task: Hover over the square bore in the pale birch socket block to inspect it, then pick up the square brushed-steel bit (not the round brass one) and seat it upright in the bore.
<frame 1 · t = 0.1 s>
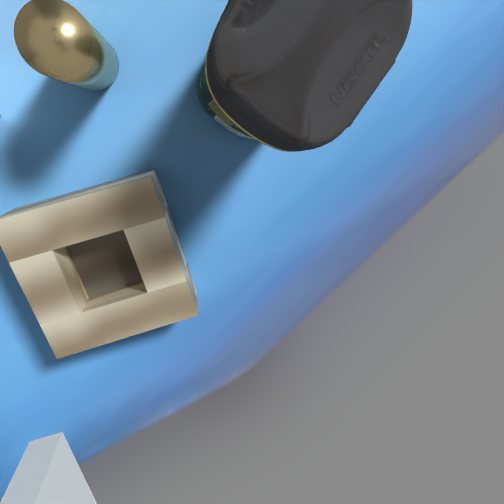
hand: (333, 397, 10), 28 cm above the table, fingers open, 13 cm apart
socket block: (112, 252, 36), on the table
coffee jar: (251, 77, 34), on the table
round bit: (92, 62, 32), on the table
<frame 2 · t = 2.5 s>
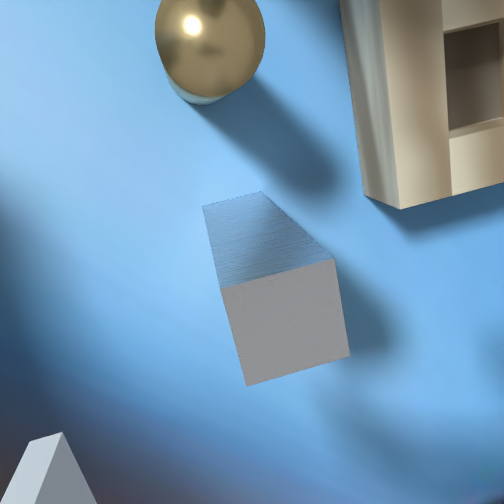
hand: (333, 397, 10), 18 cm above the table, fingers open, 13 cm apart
socket block: (438, 84, 27), on the table
square bit: (238, 227, 28), on the table
round bit: (200, 69, 24), on the table
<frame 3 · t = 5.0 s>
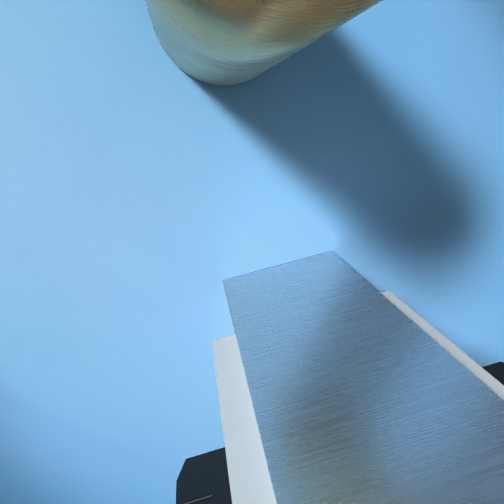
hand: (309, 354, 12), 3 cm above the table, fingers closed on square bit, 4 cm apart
square bit: (288, 315, 15), on the table, touching gripper
round bit: (222, 10, 12), on the table
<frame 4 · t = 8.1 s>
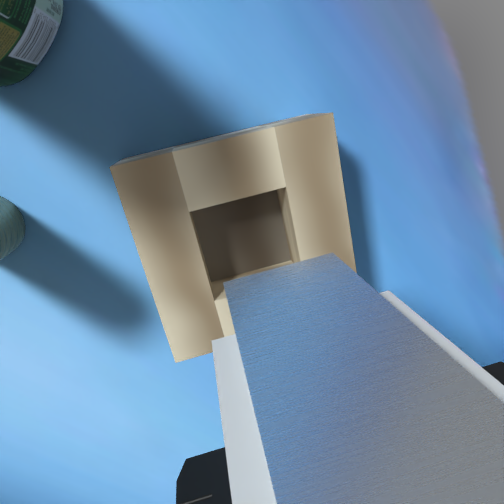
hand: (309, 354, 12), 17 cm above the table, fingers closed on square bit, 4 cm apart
socket block: (237, 224, 28), on the table
square bit: (289, 316, 15), point 14 cm above the table, touching gripper
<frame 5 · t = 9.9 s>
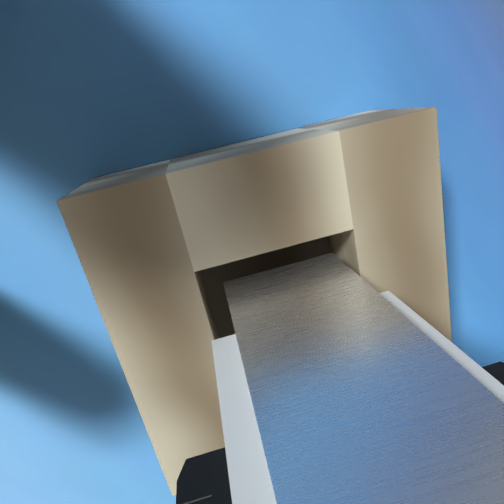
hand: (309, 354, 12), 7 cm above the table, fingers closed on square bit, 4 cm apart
socket block: (264, 272, 19), on the table
square bit: (289, 316, 15), point 5 cm above the table, touching gripper
when the fingers open (6 cm above the table, at t = 11.1 s): square bit drops 2 cm, resting on socket block.
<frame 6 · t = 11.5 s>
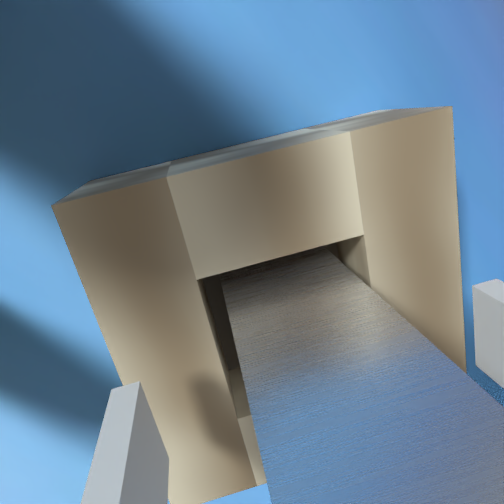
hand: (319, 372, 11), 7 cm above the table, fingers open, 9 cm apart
socket block: (268, 277, 18), on the table
square bit: (276, 297, 17), point 2 cm above the table, touching socket block
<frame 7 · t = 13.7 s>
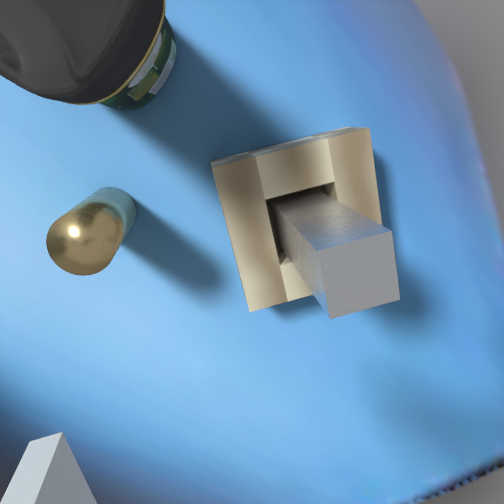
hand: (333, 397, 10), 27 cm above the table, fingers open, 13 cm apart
socket block: (292, 211, 36), on the table
coffee jar: (111, 46, 31), on the table
square bit: (296, 216, 35), point 2 cm above the table, touching socket block
round bit: (112, 210, 34), on the table
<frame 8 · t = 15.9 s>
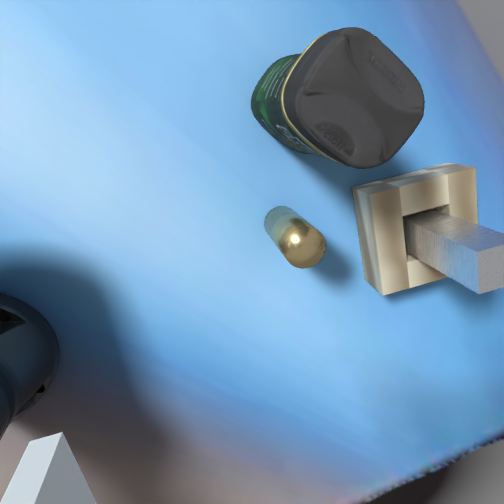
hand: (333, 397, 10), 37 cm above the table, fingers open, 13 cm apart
socket block: (404, 222, 50), on the table
coffee jar: (294, 108, 44), on the table
square bit: (413, 227, 48), point 2 cm above the table, touching socket block
round bit: (281, 223, 47), on the table
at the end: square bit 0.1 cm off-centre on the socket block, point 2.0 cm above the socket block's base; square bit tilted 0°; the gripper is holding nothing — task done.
